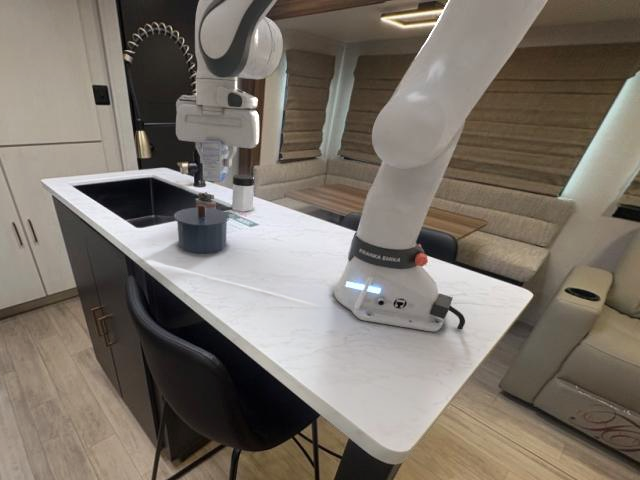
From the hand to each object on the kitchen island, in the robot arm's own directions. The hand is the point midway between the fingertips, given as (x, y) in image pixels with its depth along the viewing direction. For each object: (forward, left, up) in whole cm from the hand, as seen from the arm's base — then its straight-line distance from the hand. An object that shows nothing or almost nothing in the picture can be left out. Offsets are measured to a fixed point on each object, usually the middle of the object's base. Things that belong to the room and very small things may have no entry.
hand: (216, 165), depth 74 cm
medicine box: (0, 0, -3) cm, 3 cm away
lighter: (+14, -19, -23) cm, 33 cm away
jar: (+10, -41, -23) cm, 48 cm away
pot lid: (+5, -1, -14) cm, 15 cm away
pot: (+5, -1, -23) cm, 23 cm away
